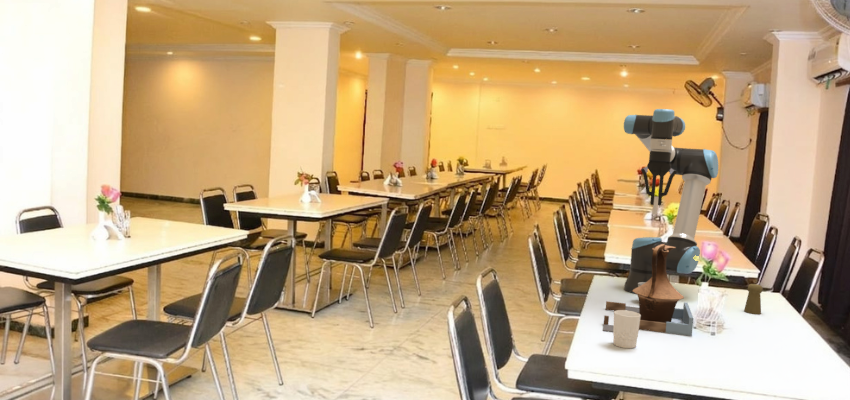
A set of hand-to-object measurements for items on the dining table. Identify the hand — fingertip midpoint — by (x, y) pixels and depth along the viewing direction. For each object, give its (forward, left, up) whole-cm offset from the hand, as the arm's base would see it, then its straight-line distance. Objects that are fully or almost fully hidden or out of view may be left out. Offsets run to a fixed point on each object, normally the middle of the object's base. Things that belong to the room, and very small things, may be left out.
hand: (654, 213), depth 266 cm
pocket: (+21, -10, -36) cm, 43 cm away
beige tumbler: (+30, -48, -37) cm, 67 cm away
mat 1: (+17, -35, -36) cm, 54 cm away
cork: (+20, +38, -37) cm, 56 cm away
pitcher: (+16, -15, -37) cm, 42 cm away
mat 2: (0, -6, -36) cm, 37 cm away
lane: (+10, -19, -36) cm, 42 cm away
